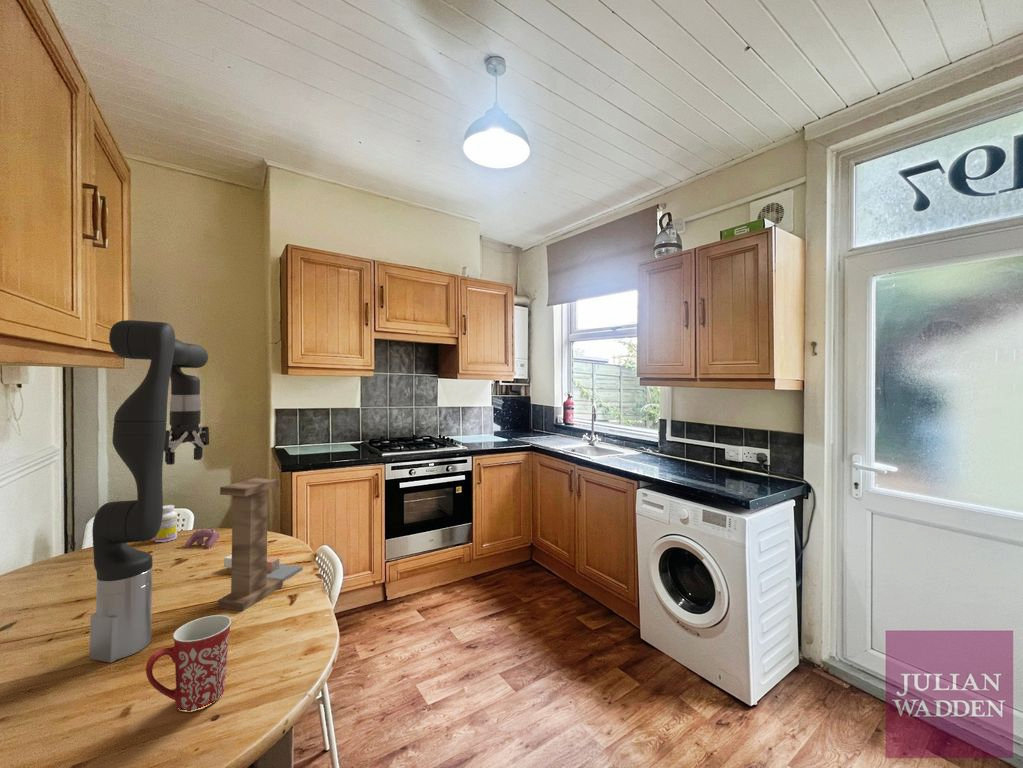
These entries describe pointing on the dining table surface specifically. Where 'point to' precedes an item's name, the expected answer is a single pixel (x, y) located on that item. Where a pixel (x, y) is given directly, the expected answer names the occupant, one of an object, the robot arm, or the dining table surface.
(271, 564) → the block
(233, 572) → the stand
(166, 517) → the supplement bottle
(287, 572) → the board
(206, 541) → the video game controller
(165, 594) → the dining table surface
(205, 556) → the dining table surface
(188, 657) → the mug
